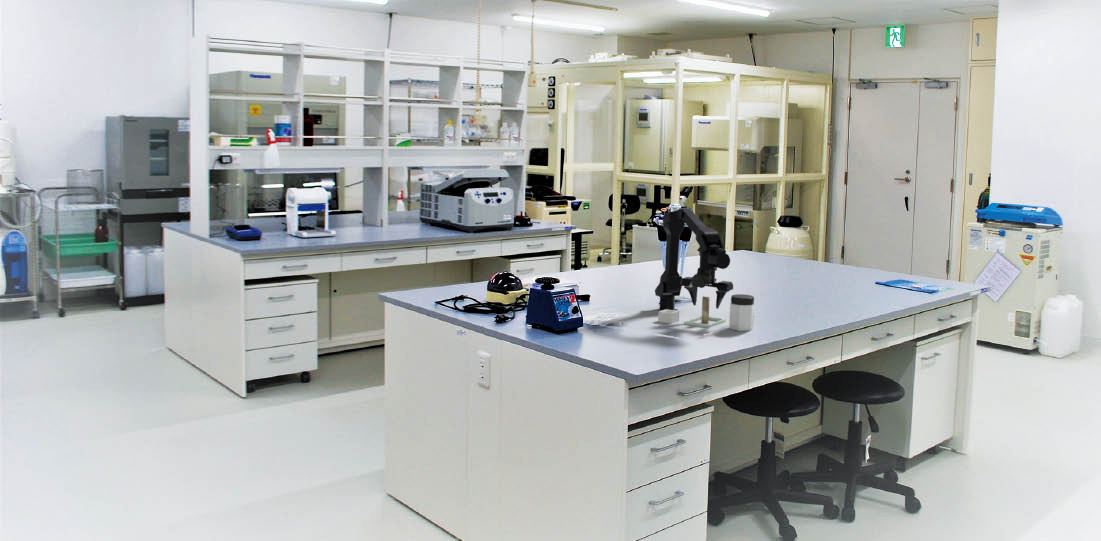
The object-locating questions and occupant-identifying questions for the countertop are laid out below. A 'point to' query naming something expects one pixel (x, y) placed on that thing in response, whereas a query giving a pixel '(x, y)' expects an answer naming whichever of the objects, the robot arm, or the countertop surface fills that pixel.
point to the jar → (741, 312)
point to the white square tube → (668, 316)
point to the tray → (691, 322)
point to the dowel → (705, 309)
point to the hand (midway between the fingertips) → (705, 306)
